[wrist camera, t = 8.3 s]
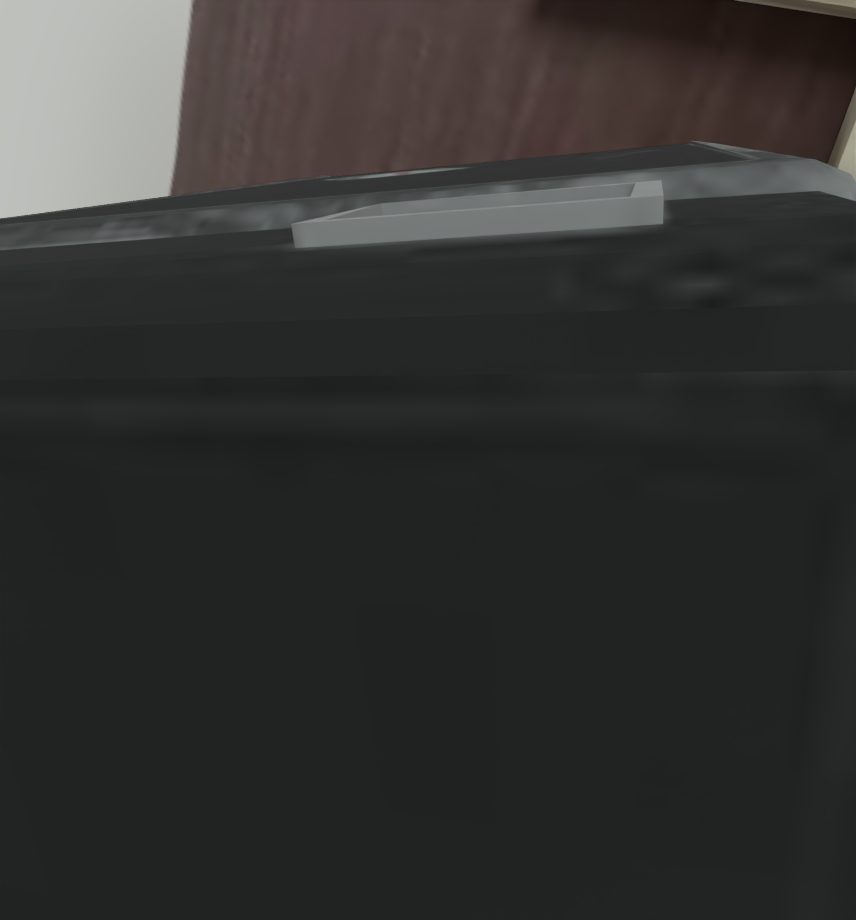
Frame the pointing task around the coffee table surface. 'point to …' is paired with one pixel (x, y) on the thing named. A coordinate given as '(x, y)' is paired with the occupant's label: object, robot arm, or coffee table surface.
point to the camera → (434, 546)
